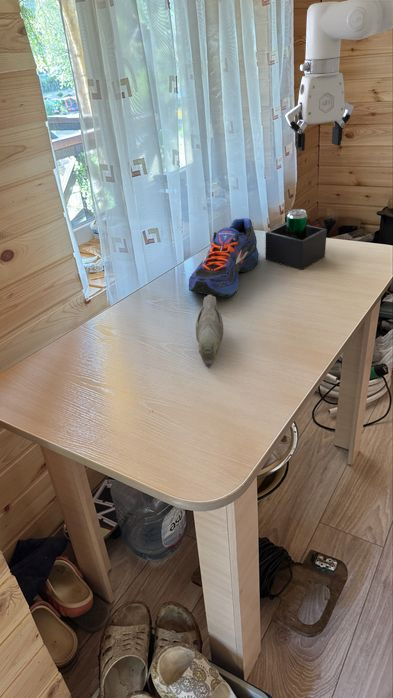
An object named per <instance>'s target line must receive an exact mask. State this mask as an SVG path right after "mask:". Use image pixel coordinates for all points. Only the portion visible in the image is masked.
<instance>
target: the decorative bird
mask: <svg viewBox="0 0 393 698" xmlns="http://www.w3.org/2000/svg"><path fill="white" fill-rule="evenodd" d="M206 295H207V296H204V298H203V301H202V307H201V309H200V310H199V312H198V314H197V318H196V323H195V337H196V341H197V343H198V352H199V354H200V357H201V359H202V362H203V364H204V365H205V367H207V368H208V369H210V368H211V367H212V365H213V363H214V362H215V359H216V356H217V354H218V353H217V352H218V348H219V345H220V344H221V342H222V341H223V337H224V321H223V318H222V315H221V313H220V309H219V307H218V306H217V298H216V297H217V296H215V295H211V294H206Z"/></svg>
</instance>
